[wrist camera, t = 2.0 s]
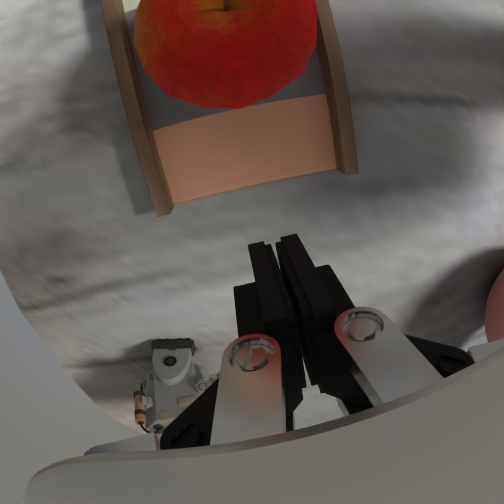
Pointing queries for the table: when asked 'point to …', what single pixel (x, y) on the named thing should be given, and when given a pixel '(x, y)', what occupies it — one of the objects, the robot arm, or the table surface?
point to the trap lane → (233, 122)
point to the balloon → (495, 310)
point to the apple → (224, 47)
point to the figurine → (170, 384)
